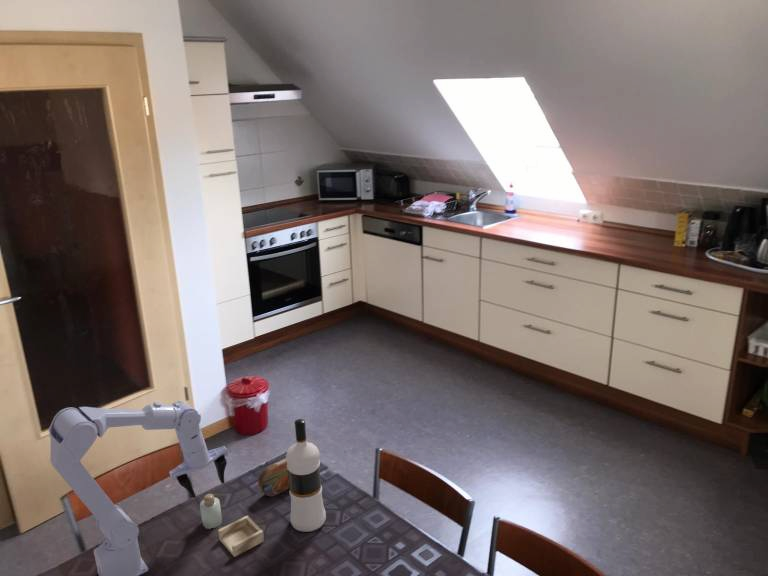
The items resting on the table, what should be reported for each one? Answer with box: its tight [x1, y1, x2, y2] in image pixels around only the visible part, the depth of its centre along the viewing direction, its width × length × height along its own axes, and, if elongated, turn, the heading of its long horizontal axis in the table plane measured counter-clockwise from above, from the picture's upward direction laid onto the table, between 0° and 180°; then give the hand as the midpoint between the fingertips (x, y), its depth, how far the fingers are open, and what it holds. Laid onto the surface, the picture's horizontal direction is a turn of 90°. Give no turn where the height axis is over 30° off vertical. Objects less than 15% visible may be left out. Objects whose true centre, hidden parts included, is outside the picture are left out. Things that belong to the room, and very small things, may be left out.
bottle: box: [199, 493, 223, 530], centre depth 162 cm, size 5×5×8 cm
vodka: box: [285, 418, 327, 533], centre depth 157 cm, size 9×9×30 cm
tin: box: [257, 457, 290, 497], centre depth 175 cm, size 15×3×8 cm, turn 129°
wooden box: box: [217, 515, 265, 558], centre depth 156 cm, size 8×8×3 cm
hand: (207, 488), depth 160 cm, fingers open, 7 cm apart
